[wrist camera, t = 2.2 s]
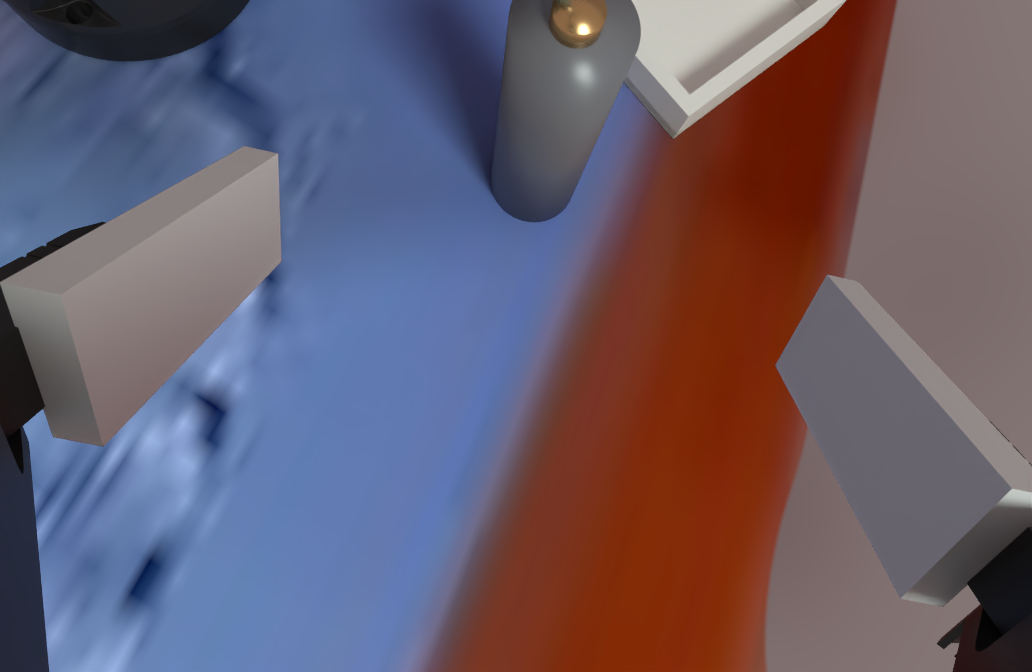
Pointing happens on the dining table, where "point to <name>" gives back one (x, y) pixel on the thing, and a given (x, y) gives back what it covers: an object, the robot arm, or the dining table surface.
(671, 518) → the dining table surface
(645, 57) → the tray
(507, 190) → the charcoal cell
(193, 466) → the dining table surface
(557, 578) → the dining table surface
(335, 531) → the dining table surface
